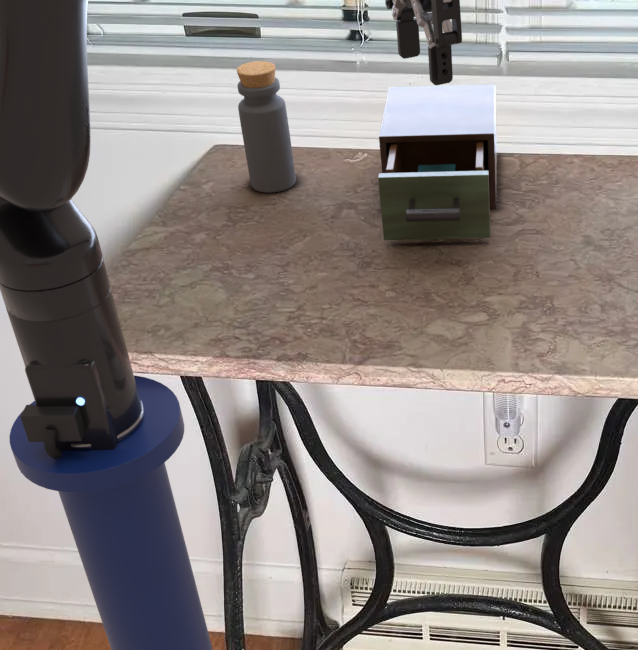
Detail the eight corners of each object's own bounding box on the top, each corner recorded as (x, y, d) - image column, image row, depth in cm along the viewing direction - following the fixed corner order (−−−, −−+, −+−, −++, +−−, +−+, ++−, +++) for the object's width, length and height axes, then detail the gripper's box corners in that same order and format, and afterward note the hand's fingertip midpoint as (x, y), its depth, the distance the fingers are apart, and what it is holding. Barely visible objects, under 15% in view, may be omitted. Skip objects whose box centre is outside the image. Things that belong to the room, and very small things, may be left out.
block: (457, 198, 143) (455, 164, 140) (456, 215, 140) (454, 180, 137) (420, 199, 143) (418, 164, 141) (418, 215, 140) (416, 181, 137)
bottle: (282, 169, 156) (265, 55, 147) (304, 184, 152) (288, 68, 143) (242, 182, 154) (223, 67, 144) (264, 197, 150) (245, 80, 140)
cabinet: (496, 208, 145) (494, 133, 139) (385, 211, 146) (378, 136, 139) (496, 155, 157) (495, 83, 151) (394, 157, 158) (388, 86, 152)
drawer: (489, 255, 134) (487, 191, 129) (380, 258, 134) (374, 194, 130) (491, 183, 149) (489, 123, 144) (393, 185, 149) (387, 125, 144)
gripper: (351, -112, 115) (366, 55, 126) (406, -80, 105) (417, 99, 115) (422, -123, 118) (431, 42, 128) (482, -91, 107) (487, 85, 118)
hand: (425, 69), depth 122 cm, fingers open, 8 cm apart
